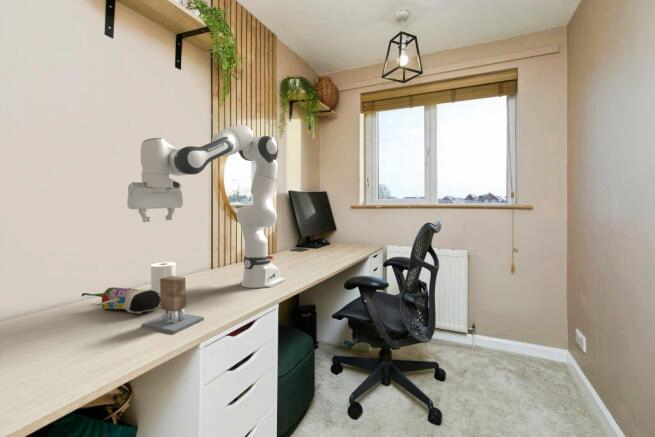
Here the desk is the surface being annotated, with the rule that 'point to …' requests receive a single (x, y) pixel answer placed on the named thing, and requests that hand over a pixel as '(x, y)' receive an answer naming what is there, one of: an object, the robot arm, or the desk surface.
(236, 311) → the desk surface
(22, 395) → the desk surface
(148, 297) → the toy
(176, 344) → the desk surface
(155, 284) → the toilet paper
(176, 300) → the block
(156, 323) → the stand
